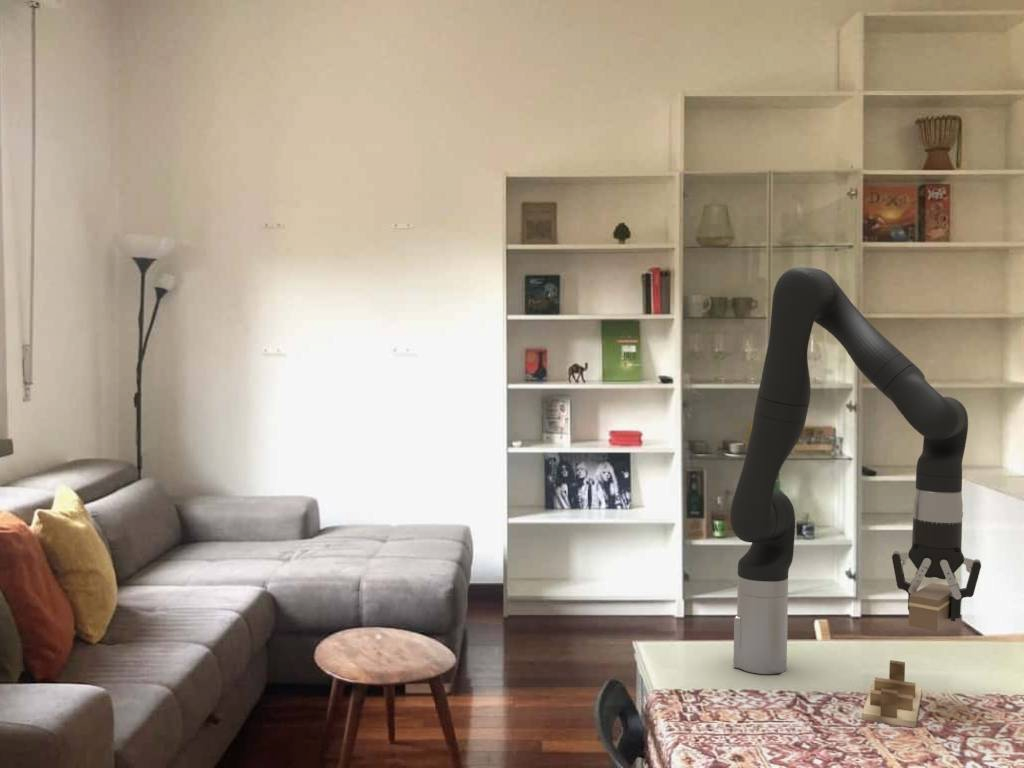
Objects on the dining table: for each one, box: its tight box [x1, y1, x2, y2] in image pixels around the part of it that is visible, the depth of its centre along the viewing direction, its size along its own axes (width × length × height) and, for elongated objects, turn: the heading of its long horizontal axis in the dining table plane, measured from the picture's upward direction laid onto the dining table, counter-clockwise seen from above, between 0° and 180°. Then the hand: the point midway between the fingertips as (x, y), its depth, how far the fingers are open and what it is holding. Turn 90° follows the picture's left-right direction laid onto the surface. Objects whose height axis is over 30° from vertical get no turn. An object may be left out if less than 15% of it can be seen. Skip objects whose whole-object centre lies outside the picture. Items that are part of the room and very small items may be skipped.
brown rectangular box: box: [907, 582, 953, 632], centre depth 162 cm, size 5×12×5 cm, turn 140°
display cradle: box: [861, 660, 923, 729], centre depth 163 cm, size 8×18×5 cm, turn 154°
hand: (933, 617), depth 162 cm, fingers closed on brown rectangular box, 5 cm apart
